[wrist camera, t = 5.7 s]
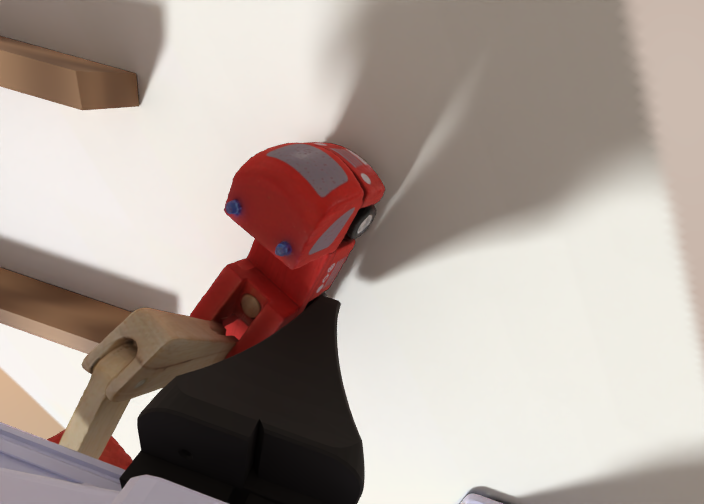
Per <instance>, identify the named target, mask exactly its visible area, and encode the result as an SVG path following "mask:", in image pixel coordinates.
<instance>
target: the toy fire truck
mask: <svg viewBox="0 0 704 504" xmlns="http://www.w3.org/2000/svg"><path fill="white" fill-rule="evenodd" d="M384 191H385V187H384V185H383V183H382V181H381V179H380V178H379V177H378V175H377V174H376V173H375V171H374V170H373V169H372V167H370V166H369V165H368V164H367V163H366V162H365V161H364V160H363V159H362V158H361V157H360V156H358V155H357V154H355V153H354V152H352V151H350V150H349V149H347V148H344V147H342V146H339V145H336V144H331V143H319V142H312V143H286V144H282V145H278V146H275V147H271V148H268V149H266V150H264V151H262V152H259V153H258V154H256V155H255V156H253V157H251V158H250V159H249V160H248V161H247V162H246V163H245V164H244V165H243V166H242V167H241V168H240V169H239V171H238V172H237V173H236V174H235V176H234V178H233V182H232V186H231V188H230V192H229V194H228V199H227V201H226V204H225V208H224V211H225V213H226V214H227V215H228V216H229V217H230V218H231V219H232V220H234V221H235V222H236V223H237V224H238V225H239V226H241V227H242V228H243V229H244V230H245V231H247V232H248V233H249V234H250V235H251V236H253V237H254V238H255V240H254V242H253V245H252V247H251V250H250V252H249V255H248V257H247V258H246V259H242V260H239V261H237V262H235V263H231V264H228V265H227V266H226V267H225V268H224V269H223V270H222V272H221V273H220V274H219V276H218V277H217V278H216V280H215V281H214V283H213V284H212V286H211V287H210V288H209V290H208V291H207V293H206V294H205V295H204V296H203V297H202V299H201V301H200V302H199V303H198V304H197V306H196V307H195V309H194V310H193V311H192V313H191V314H190V316H185V315H180V314H175V313H170V312H165V311H160V310H156V309H152V308H140V309H137V310H135V311H134V312H132V313H131V314H130V315H129V316H128V317H127V318H126V319H125V320H124V321H123V322H122V323H121V324H120V325H119V326H118V327H117V328H115V329H114V330H113V331H112V332H111V333H110V334H109V335H108V336H107V337H106V338H105V339H104V340H103V341H102V342H101V343H100V344H99V345H97V346H96V347H95V348H94V349H93V350H92V351H91V352H90V353H89V354H88V355H87V356H86V357H85V358H84V360H83V363H82V367H83V368H84V369H85V370H86V371H87V372H89V373H91V374H92V375H91V379H90V381H89V383H88V386H87V387H86V389H85V391H84V393H83V396H82V397H81V399H80V401H79V404H78V406H77V407H76V409H75V411H74V413H73V416H72V418H71V420H70V422H69V424H68V426H67V428H66V429H65V430H63V431H62V432H60V433H59V434H57V435H55V436H53V437H51V438H49V439H47V440H48V441H51V442H54V443H56V444H59V445H62V446H64V447H67V448H69V449H72V450H75V451H77V452H80V453H82V454H85V455H88V456H90V457H93V458H95V459H98V460H101V461H103V462H106V463H108V464H111V465H114V466H116V467H119V468H122V469H124V470H126V469H127V468H128V466H129V465H130V464H131V463H132V459H131V457H130V456H129V455H128V454H126V452H125V451H124V449H123V448H122V447H121V446H120V445H119V444H118V442H117V441H116V440H115V439H114V438H113V437H112V436H111V435H112V433H113V432H114V430H115V428H116V426H117V424H118V422H119V420H120V418H121V416H122V414H123V412H124V411H125V409H126V407H127V405H128V403H129V401H130V399H131V398H134V397H137V396H140V395H143V394H146V393H149V392H152V391H155V390H157V389H160V388H164V387H165V386H166V385H167V384H168V383H169V382H171V381H172V380H173V379H174V378H175V377H176V376H178V375H182V374H185V373H188V372H191V371H195V370H198V369H201V368H204V367H207V366H210V365H212V364H215V363H217V362H220V361H222V360H224V359H227V358H229V357H232V356H234V355H236V354H238V353H240V352H242V351H244V350H246V349H248V348H250V347H252V346H254V345H256V344H258V343H259V342H261V341H263V340H264V339H266V338H268V337H269V336H271V335H272V334H274V333H275V332H277V331H278V330H280V329H281V328H282V327H284V326H285V325H287V324H288V323H289V322H291V321H292V320H293V319H294V318H296V317H297V316H298V315H299V314H301V313H302V312H303V311H304V310H305V309H306V308H307V307H309V306H310V305H311V304H312V303H313V302H314V301H315V300H316V299H317V298H318V297H319V296H321V295H322V296H325V297H327V295H326V294H325V293H324V291H326V290H328V289H329V287H330V286H331V284H332V282H333V281H334V279H335V277H336V276H337V274H338V272H339V271H340V269H341V267H342V265H343V263H344V262H345V261H346V259H347V257H348V255H349V253H350V251H351V250H352V249H353V247H354V245H355V238H357V237H359V236H360V235H361V234H362V233H363V232H365V231H366V230H367V229H368V227H369V225H370V224H371V223H372V221H373V219H374V217H375V215H376V208H375V207H374V205H375V204H376V203H377V202H378V201H380V199H381V198H382V196H383V193H384Z"/></svg>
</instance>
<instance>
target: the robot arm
mask: <svg viewBox="0 0 704 504" xmlns="http://www.w3.org/2000/svg"><path fill="white" fill-rule="evenodd" d="M340 305H341V304H340V302H339V301H337V300H334V299H331V298H328V297H325V296H322V295H321V296H319V297H318V298H317V299H316V300H315V301H314V302H313V303H312V304H311V305H310V306H309V307H307V308H306V309H305V310H304V311H303V312H302V313H301V314H299V315H298V316H297V317H296V318H294V319H293V320H292V321H291V322H289V323H288V324H287V325H285V326H284V327H282V328H281V329H280V330H278V331H277V332H275V333H274V334H272V335H271V336H269V337H268V338H266V339H264V340H263V341H261V342H259V343H258V344H256V345H254V346H252V347H250V348H248V349H246V350H244V351H242V352H240V353H238V354H236V355H234V356H232V357H229V358H227V359H224V360H222V361H220V362H217V363H215V364H212V365H210V366H207V367H204V368H201V369H198V370H195V371H191V372H188V373H185V374H182V375H178V376H176V377H175V378H174V379H173V380H172V381H171V382H169V383H168V384H167V385H166V386H165V387H164V388H163V389H162V390H161V391H160V392H159V393H158V394H157V395H156V396H155V397H154V398H153V400H152V401H151V402H150V403H149V404H148V405H147V406H146V408H145V409H144V410H143V411H142V412H141V413H140V415H139V417H138V422H137V426H138V433H139V439H140V445H141V451H140V453H139V454H138V455H137V456H136V458H135V459H134V460H133V461H132V463H131V464H130V465H129V466H128V468H127V469H126V470H124V469H122V468H119V467H116V466H114V465H111V464H108V463H106V462H103V461H101V460H98V459H95V458H93V457H90V456H88V455H85V454H82V453H80V452H77V451H75V450H72V449H69V448H67V447H64V446H62V445H59V444H56V443H54V442H51V441H48V440H46V439H43V438H41V437H38V436H35V435H33V434H30V433H28V432H25V431H22V430H20V429H17V428H14V427H12V426H9V425H7V424H4V423H1V422H0V504H357V503H358V501H359V499H360V497H361V495H362V492H363V488H364V455H363V446H362V440H361V437H360V435H359V433H358V430H357V427H356V425H355V422H354V420H353V417H352V414H351V411H350V408H349V404H348V401H347V397H346V394H345V390H344V386H343V382H342V377H341V372H340V366H339V358H338V348H337V318H338V313H339V309H340ZM460 504H503V503H500V502H498V501H495V500H492V499H489V498H486V497H483V496H481V495H478V494H472V493H471V494H468V495H467V496H466V497H465V498H464V499H463V501H462V502H461V503H460Z"/></svg>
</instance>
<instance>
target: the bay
mask: <svg viewBox="0 0 704 504" xmlns="http://www.w3.org/2000/svg"><path fill="white" fill-rule="evenodd" d="M0 86H1V87H4V88H8V89H11V90H14V91H18V92H21V93H25V94H28V95H32V96H35V97H39V98H42V99H45V100H49V101H52V102H56V103H59V104H63V105H66V106H70V107H73V108H76V109H80V110H92V109H107V108H121V107H135V106H139V99H138V88H137V76H136V73H133V72H129V71H125V70H122V69H118V68H115V67H111V66H107V65H104V64H100V63H96V62H93V61H89V60H86V59H82V58H78V57H75V56H71V55H68V54H64V53H60V52H57V51H53V50H49V49H46V48H42V47H39V46H35V45H31V44H28V43H24V42H21V41H17V40H13V39H10V38H6V37H2V36H0ZM131 313H132V312H129V311H127V310H124V309H121V308H118V307H115V306H112V305H109V304H106V303H103V302H100V301H97V300H94V299H91V298H88V297H85V296H82V295H80V294H77V293H74V292H71V291H68V290H65V289H62V288H59V287H56V286H53V285H50V284H47V283H44V282H41V281H38V280H35V279H33V278H30V277H27V276H24V275H21V274H18V273H15V272H12V271H9V270H6V269H3V268H0V323H2V324H5V325H8V326H11V327H13V328H16V329H19V330H22V331H25V332H27V333H30V334H33V335H36V336H39V337H42V338H44V339H47V340H50V341H53V342H56V343H58V344H61V345H64V346H67V347H70V348H72V349H75V350H78V351H81V352H84V353H87V354H89V353H90V352H91V351H92V350H93V349H94V348H95V347H96V346H97V345H99V344H100V343H101V342H102V341H103V340H104V339H105V338H106V337H107V336H108V335H109V334H110V333H111V332H112V331H113V330H114V329H115V328H117V327H118V326H119V325H120V324H121V323H122V322H123V321H124V320H125V319H126V318H127V317H128V316H129V315H130V314H131Z"/></svg>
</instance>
